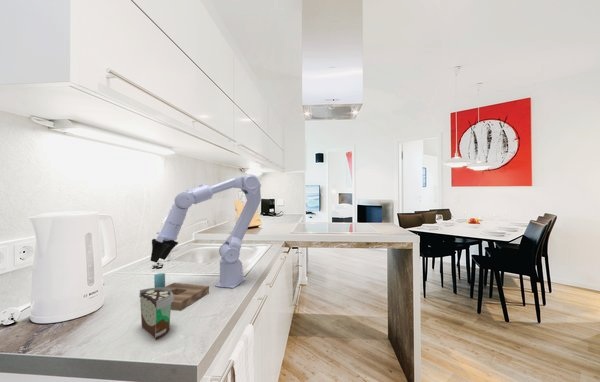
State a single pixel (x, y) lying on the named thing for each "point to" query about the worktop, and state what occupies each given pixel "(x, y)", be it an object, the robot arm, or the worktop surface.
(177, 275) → the worktop surface
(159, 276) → the teal peg
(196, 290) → the walnut collar plate
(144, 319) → the food container
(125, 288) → the worktop surface
